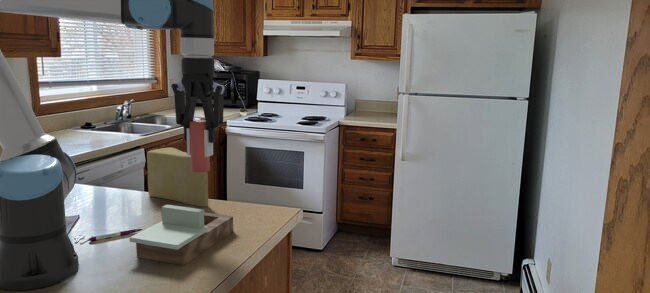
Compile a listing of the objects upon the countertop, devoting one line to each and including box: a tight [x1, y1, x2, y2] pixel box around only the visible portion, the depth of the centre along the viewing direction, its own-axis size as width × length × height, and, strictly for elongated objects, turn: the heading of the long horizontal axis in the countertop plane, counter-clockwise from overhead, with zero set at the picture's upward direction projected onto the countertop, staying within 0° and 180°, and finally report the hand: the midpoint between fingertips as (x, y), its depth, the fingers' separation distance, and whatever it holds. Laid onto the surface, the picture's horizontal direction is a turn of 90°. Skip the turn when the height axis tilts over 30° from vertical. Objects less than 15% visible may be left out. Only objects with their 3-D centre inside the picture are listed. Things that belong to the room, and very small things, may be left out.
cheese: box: [146, 147, 209, 208], centre depth 150 cm, size 22×10×15 cm, turn 54°
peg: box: [190, 119, 211, 172], centre depth 119 cm, size 4×4×12 cm
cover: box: [129, 204, 208, 250], centre depth 110 cm, size 12×12×5 cm
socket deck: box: [135, 211, 234, 266], centre depth 117 cm, size 22×12×4 cm, turn 162°
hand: (200, 154), depth 120 cm, fingers closed on peg, 4 cm apart
